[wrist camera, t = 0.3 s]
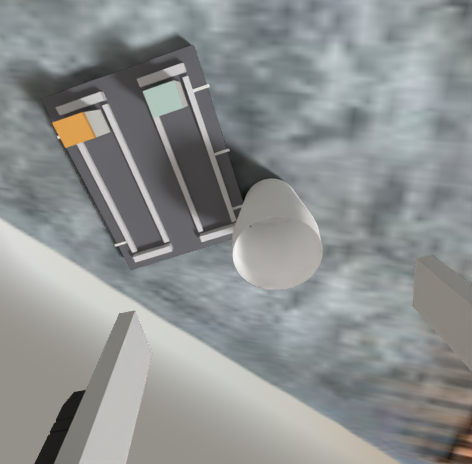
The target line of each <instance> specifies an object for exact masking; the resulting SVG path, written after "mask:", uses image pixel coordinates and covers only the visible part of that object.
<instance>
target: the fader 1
mask: <svg viewBox="0 0 472 464" xmlns="http://www.w3.org/2000/svg"><path fill="white" fill-rule="evenodd" d="M52 124H53V126H54V127H55V129H56V131H57V133H58V135H59V137H60V139H61V141H62V143H63V144H64V146H65V148H67V147H70V146H73V145H76V144H79V143H82V142H85V141H88V140H90V139H93V138H96V137H99V136H101V135H104V134H107V133H109V132H110V130H109V127H108V125H107V123H106V121H105V119H104V116H103V114H102V112H101V110H94V111H88V112H81V113H79V114H76V115H73V116H70V117H67V118H64V119H61V120H59V121H56V122H53V123H52Z"/></svg>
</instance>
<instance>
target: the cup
mask: <svg viewBox="0 0 472 464" xmlns="http://www.w3.org/2000/svg"><path fill="white" fill-rule="evenodd" d="M250 225H251V227H250ZM232 243H233V261H234V265H235V267H236V269H237V271H238V272H239V274H240V275H241V276H242V277H243V278H244V279H245V280H246V281H248V282H249V283H251V284H253V285H255V286H257V287H260V288H263V289H269V290H283V289H289V288H292V287H295V286H298V285H300V284H302V283H304V282H305V281H307V280H308V279H309V278H310V277H312V275H313V274H314V273H315V272H316V271H317V269H318V268H319V266H320V263H321V261H322V256H323V247H322V243H321V239H320V234H319V230H318V226H317V224H316V222H315V220H314V218H313V216H312V215H311V214H310V212H309V211H308V209H307V208H306V207H305V205H304V204H303V202H302V201H301V200H300V198H299V197H298V196H297V194H296V193H295V191H294V190H293V189H292V187H291V186H290V185H289V184H287V183H286V182H284V181H282V180H279V179H264V180H261V181H259V182H257V183H256V184H254V185H253V186H252V187H251V188H250V189H249V191H248V192H247V195H246V197H245V200H244V202H243V205H242V208H241V210H240V213H239V216H238V218H237V221H236V224H235V227H234V230H233V236H232Z"/></svg>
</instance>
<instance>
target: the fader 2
mask: <svg viewBox="0 0 472 464" xmlns="http://www.w3.org/2000/svg"><path fill="white" fill-rule="evenodd" d="M143 93H144V96H145V98H146V101H147V103H148V106H149V108H150V111H151V113H152V116H153V118H155V117H158V116H161V115H164V114H167V113H170V112H173V111H176V110H179V109H182V108H184V107H186V106H188V104H187V101H186V98H185V95H184V92H183V89H182V86H181V84H180V82H178V81H175V80H173V81H171V82H168V83H165V84H162V85H159V86H156V87H153V88H150V89H148V90H145V91H143Z"/></svg>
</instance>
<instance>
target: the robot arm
mask: <svg viewBox="0 0 472 464" xmlns="http://www.w3.org/2000/svg"><path fill="white" fill-rule="evenodd" d="M413 307H414V308H415V309H416V310H417V311H418V313H419V314H420V315H421V316H422V317H423V318H424V319H425V320H426V321H427V322H428V324H429V325H430V326H431V327H432V328H433V329H434V330H435V331H436V332H437V334H438V335H439V336H440V337H441V338H442V339H443V340H444V341H445V342H446V343H447V345H448V346H449V347H450V348H451V349H452V350H453V351H454V352H455V353H456V355H457V356H458V357H459V358H460V359H461V360H462V361H463V362H464V363H465V364H466V366H467V367H468V368H469V369H470V370H471V371H472V285H471V284H470V283H469V282H467V281H466V280H465V279H463V278H462V277H461V276H460V275H458V274H457V273H456V272H454V271H453V270H452V269H450V268H449V267H448V266H446V265H445V264H444V263H443V262H441V261H440V260H439V259H437V258H436V257H435V256H433V255H430V256H425V257H420V258H416V265H415V280H414V294H413ZM151 358H152V351H151V349H150V346H149V344H148V341H147V339H146V336H145V334H144V331H143V329H142V326H141V324H140V321H139V319H138V316H137V314H136V311H130V312H125V313H120V314H119V315H118V317H117V320H116V322H115V324H114V327H113V329H112V331H111V334H110V336H109V338H108V340H107V343H106V345H105V347H104V350H103V352H102V354H101V357H100V359H99V361H98V364H97V366H96V368H95V370H94V373H93V375H92V378H91V380H90V382H89V384H88V386H87V389H86V390H83V391H77V392H74V393H73V394H72V395H71V396H70V398H69V399H68V400H67V401H66V403H65V404H64V405H63V406H62V408H61V410H60V412H59V415H58V417H57V419H56V423H54V425H53V427H52V429H51V431H50V435H48V437H47V439H46V441H45V443H44V445H43V447H42V449H41V452H40V453H39V456H38V458H37V460H36V462H35V464H126V461H127V457H128V453H129V448H130V444H131V440H132V436H133V431H134V427H135V423H136V420H137V415H138V411H139V407H140V403H141V399H142V395H143V391H144V387H145V383H146V378H147V374H148V370H149V366H150V362H151Z"/></svg>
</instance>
